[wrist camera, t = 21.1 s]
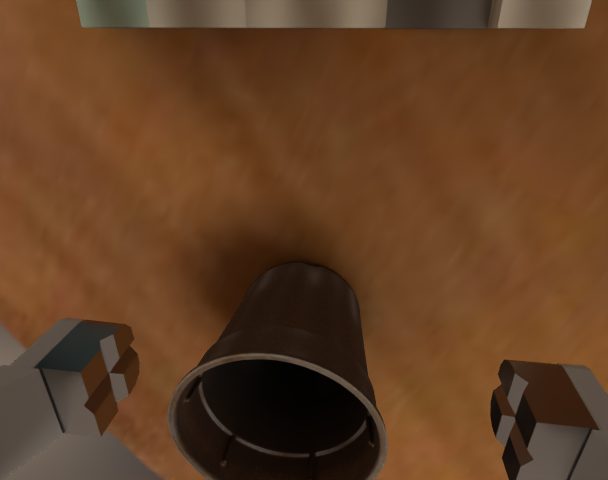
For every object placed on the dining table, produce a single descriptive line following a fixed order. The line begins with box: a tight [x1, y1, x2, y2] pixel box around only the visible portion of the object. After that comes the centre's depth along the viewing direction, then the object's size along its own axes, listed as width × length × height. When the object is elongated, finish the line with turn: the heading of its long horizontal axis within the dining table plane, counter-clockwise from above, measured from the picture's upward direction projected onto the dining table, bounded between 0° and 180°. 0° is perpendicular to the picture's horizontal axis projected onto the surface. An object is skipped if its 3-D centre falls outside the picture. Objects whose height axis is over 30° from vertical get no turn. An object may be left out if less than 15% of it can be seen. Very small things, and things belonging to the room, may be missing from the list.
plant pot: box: [168, 262, 388, 480], centre depth 37 cm, size 16×16×16 cm
